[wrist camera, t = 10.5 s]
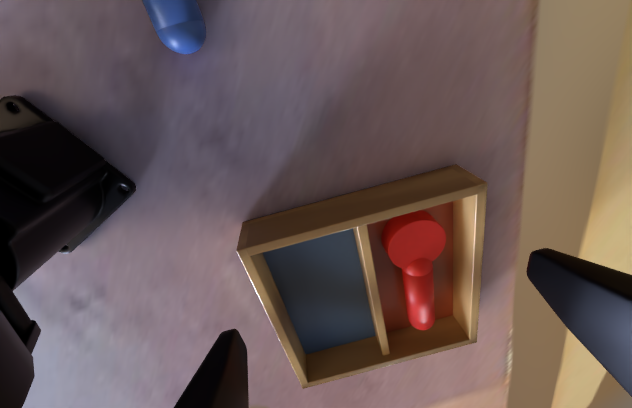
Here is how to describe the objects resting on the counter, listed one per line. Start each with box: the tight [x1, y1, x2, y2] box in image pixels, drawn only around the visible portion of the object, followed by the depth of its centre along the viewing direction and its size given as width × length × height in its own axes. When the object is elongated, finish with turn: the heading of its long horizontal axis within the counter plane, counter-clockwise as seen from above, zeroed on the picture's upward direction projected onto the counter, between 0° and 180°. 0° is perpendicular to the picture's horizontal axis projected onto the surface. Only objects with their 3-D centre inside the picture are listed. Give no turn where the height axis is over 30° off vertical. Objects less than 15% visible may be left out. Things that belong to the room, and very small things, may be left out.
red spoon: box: [381, 210, 446, 330], centre depth 19 cm, size 10×4×2 cm, turn 13°
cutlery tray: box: [237, 164, 487, 389], centre depth 20 cm, size 14×14×3 cm
